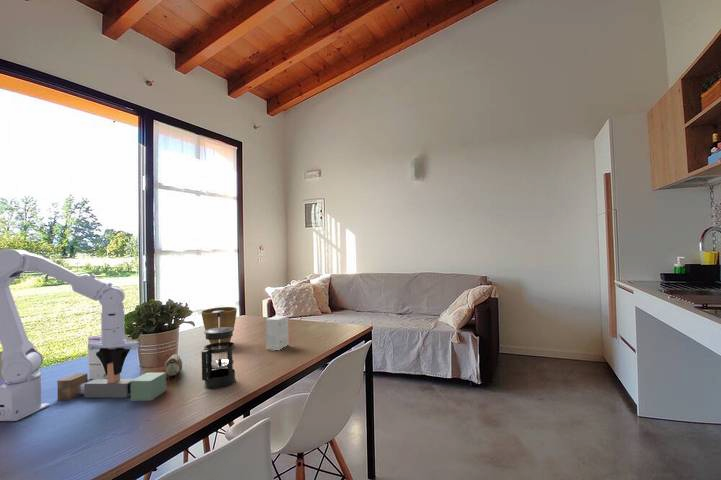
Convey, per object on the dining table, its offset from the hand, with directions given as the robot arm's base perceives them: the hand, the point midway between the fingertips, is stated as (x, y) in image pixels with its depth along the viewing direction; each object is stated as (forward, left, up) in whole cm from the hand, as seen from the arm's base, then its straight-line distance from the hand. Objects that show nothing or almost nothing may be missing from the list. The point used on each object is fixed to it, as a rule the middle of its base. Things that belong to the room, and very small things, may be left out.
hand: (113, 373), depth 107 cm
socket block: (0, -11, -6) cm, 13 cm away
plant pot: (+55, -6, -7) cm, 56 cm away
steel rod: (0, +5, -5) cm, 7 cm away
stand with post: (0, +1, -6) cm, 6 cm away
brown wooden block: (0, +13, -6) cm, 14 cm away
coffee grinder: (+9, -28, -7) cm, 30 cm away
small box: (+50, -34, -7) cm, 61 cm away
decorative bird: (+17, -8, -7) cm, 20 cm away
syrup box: (+16, +17, -7) cm, 24 cm away
